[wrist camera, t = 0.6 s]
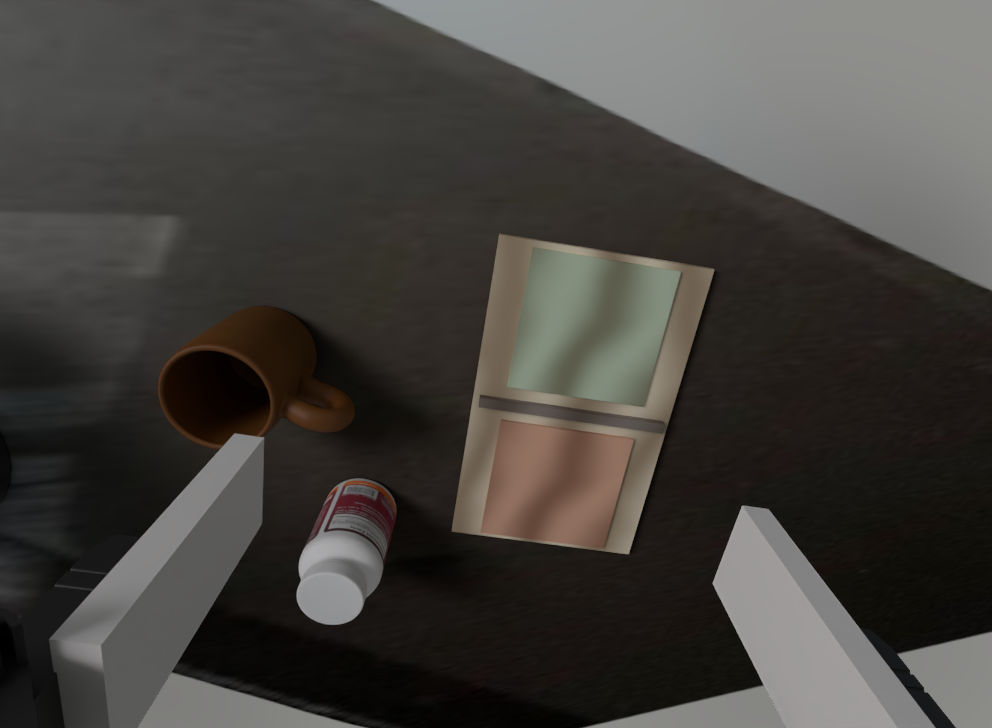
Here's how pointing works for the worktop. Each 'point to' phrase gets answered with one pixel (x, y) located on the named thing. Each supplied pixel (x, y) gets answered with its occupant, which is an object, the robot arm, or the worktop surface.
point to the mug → (249, 380)
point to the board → (574, 392)
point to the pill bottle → (346, 551)
